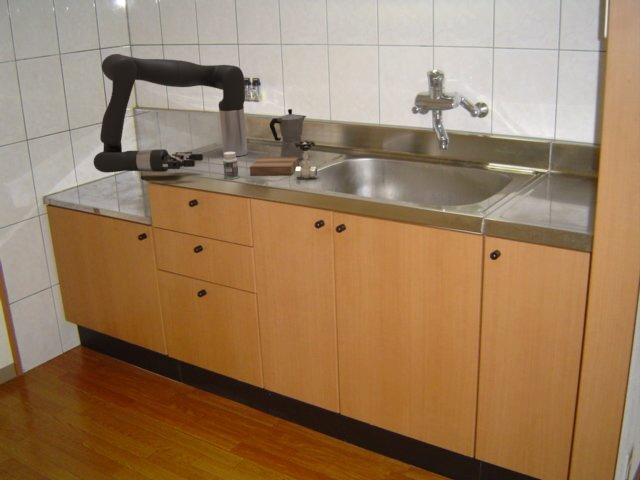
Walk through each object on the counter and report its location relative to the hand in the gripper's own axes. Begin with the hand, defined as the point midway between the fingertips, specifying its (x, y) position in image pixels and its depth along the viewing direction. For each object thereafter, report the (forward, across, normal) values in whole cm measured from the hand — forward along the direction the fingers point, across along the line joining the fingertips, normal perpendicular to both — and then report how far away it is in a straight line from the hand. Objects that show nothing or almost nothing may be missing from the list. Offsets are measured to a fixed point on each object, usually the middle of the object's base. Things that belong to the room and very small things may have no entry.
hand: (198, 160), depth 246 cm
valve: (+37, -2, +6) cm, 37 cm away
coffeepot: (+26, +26, +6) cm, 37 cm away
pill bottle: (+11, 0, +6) cm, 13 cm away
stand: (+24, +9, +6) cm, 26 cm away
